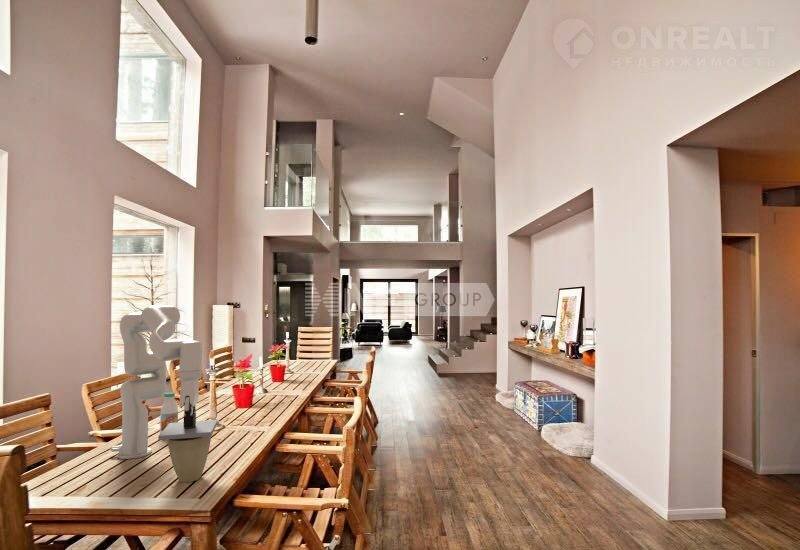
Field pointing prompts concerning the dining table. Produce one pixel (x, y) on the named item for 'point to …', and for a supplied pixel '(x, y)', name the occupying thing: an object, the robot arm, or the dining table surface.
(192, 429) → the lid
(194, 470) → the plant pot
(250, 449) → the dining table surface
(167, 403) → the milk bottle
